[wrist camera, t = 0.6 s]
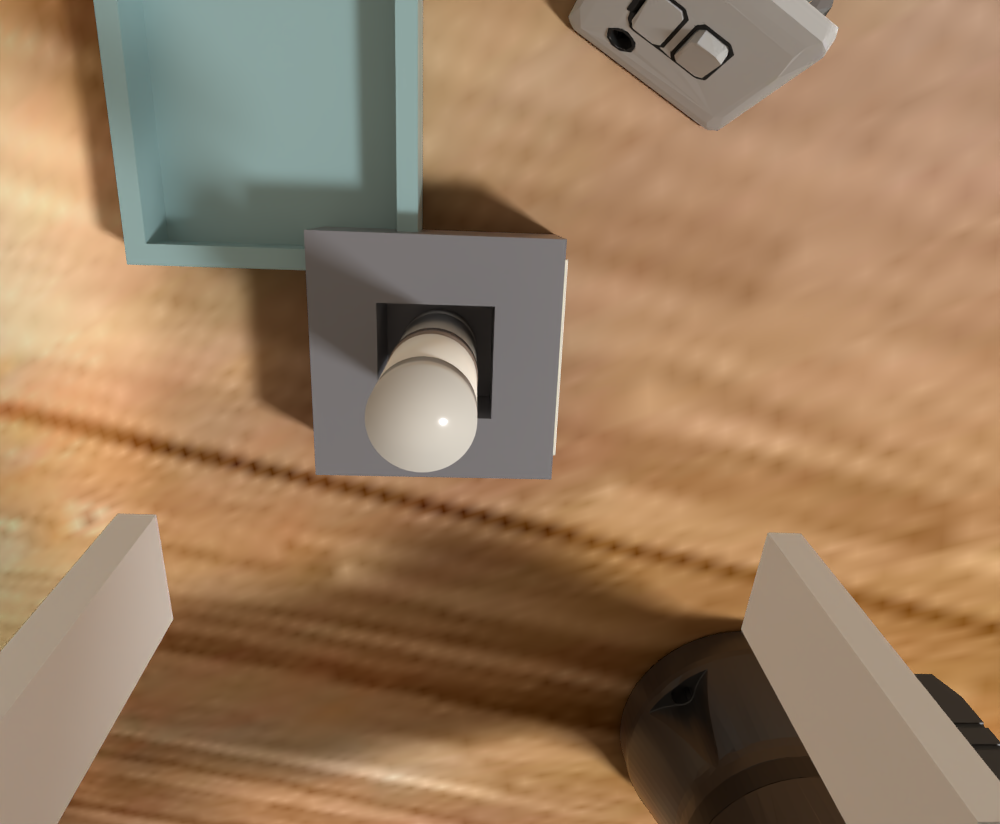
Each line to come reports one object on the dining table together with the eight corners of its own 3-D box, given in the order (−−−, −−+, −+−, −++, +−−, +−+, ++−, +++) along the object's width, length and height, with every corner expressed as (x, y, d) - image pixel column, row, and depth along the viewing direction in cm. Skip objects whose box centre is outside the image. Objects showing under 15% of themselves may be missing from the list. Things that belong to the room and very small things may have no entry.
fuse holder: (546, 445, 39) (556, 479, 34) (335, 441, 39) (315, 474, 34) (559, 234, 36) (572, 239, 31) (327, 225, 35) (303, 229, 30)
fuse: (476, 383, 37) (477, 474, 25) (401, 381, 37) (364, 472, 24) (478, 308, 36) (480, 365, 23) (401, 306, 36) (361, 362, 23)
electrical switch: (561, 24, 33) (609, -65, 24) (621, -75, 32) (693, -205, 23) (710, 137, 35) (807, 94, 26) (770, 45, 34) (890, -31, 25)
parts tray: (422, 267, 36) (417, 274, 33) (156, 259, 35) (127, 264, 32) (423, -187, 30) (417, -230, 27) (102, -208, 29) (60, -254, 26)
